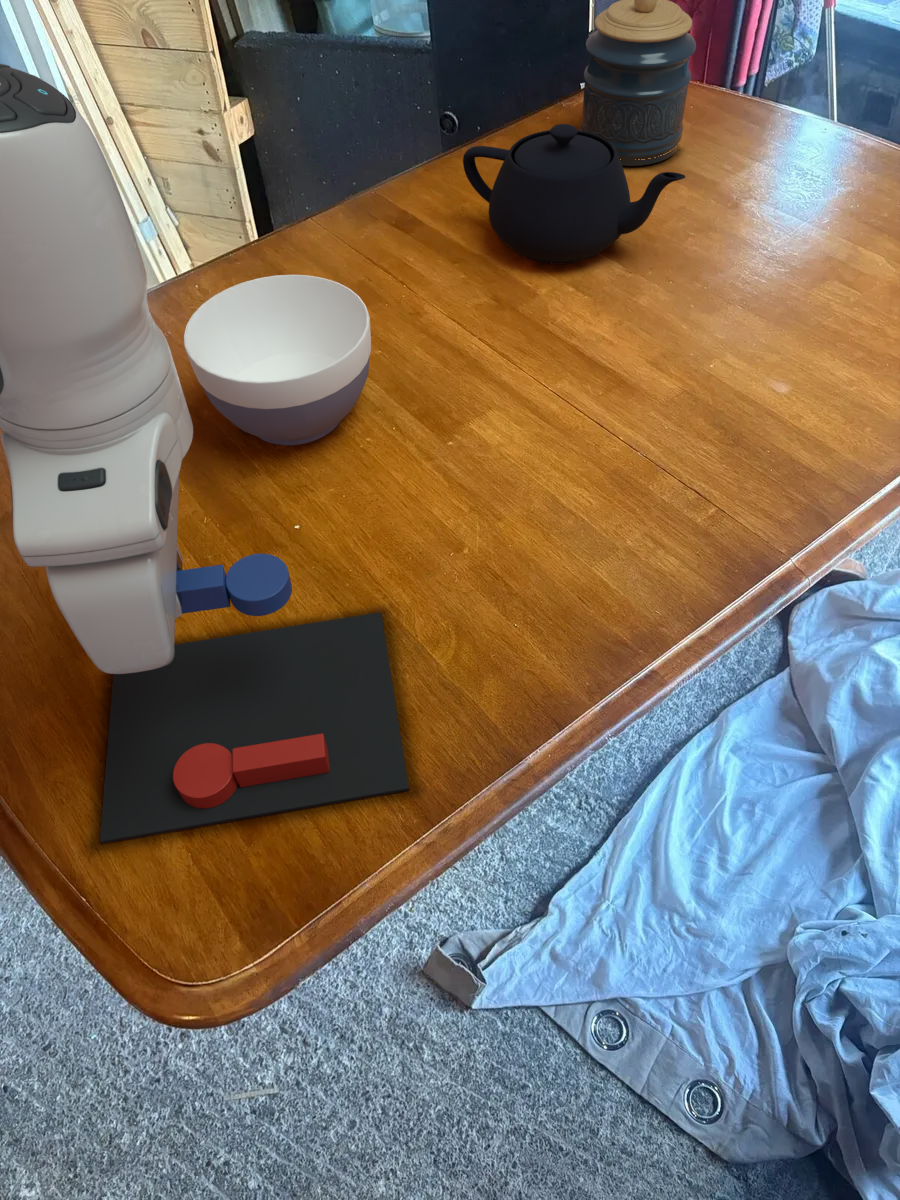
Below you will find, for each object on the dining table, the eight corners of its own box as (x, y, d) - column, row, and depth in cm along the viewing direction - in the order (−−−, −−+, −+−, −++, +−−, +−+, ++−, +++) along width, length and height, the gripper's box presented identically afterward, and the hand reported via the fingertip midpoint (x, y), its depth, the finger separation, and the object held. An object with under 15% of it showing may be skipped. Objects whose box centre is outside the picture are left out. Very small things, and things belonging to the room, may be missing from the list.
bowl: (299, 496, 77) (278, 408, 69) (175, 427, 83) (143, 339, 76) (414, 399, 84) (407, 310, 77) (293, 343, 91) (275, 255, 83)
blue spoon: (134, 634, 56) (123, 612, 54) (137, 586, 58) (127, 564, 57) (294, 611, 57) (288, 589, 55) (290, 565, 59) (285, 543, 57)
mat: (101, 844, 57) (99, 841, 57) (116, 656, 66) (114, 653, 66) (409, 790, 59) (408, 788, 58) (381, 615, 68) (381, 611, 68)
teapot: (435, 251, 101) (429, 139, 91) (494, 189, 109) (494, 81, 100) (646, 301, 93) (664, 185, 83) (692, 231, 101) (712, 118, 92)
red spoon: (326, 735, 61) (322, 718, 59) (331, 787, 59) (327, 771, 57) (179, 759, 60) (170, 743, 59) (178, 813, 58) (169, 798, 56)
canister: (628, 114, 121) (645, -40, 107) (701, 146, 114) (729, -14, 101) (557, 144, 116) (566, -14, 103) (629, 179, 110) (649, 16, 96)
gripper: (57, 311, 52) (127, 486, 62) (7, 573, 39) (107, 736, 50) (167, 299, 52) (218, 474, 63) (154, 553, 40) (221, 718, 50)
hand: (169, 591), depth 56 cm, fingers closed on blue spoon, 2 cm apart
